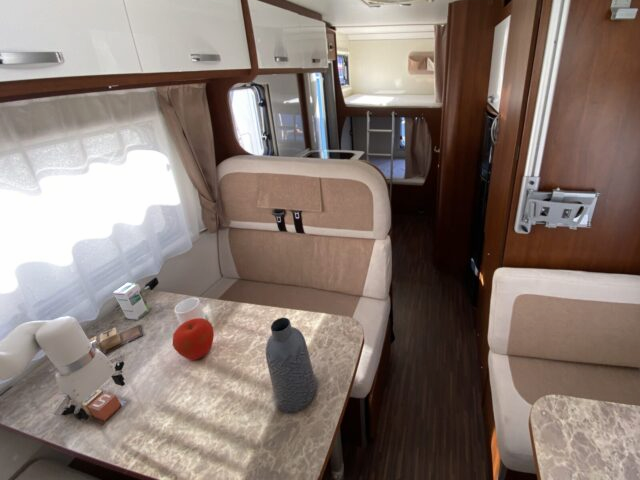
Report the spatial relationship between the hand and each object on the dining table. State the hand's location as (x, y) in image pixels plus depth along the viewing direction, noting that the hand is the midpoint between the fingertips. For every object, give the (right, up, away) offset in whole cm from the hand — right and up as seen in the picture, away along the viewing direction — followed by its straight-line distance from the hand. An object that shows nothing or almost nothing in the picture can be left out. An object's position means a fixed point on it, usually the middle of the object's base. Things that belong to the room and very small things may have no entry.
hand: (103, 400), depth 87 cm
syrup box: (-21, +9, +39) cm, 45 cm away
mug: (+5, +8, +33) cm, 35 cm away
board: (-19, +3, +25) cm, 32 cm away
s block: (0, -4, +2) cm, 5 cm away
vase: (+55, -2, +5) cm, 55 cm away
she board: (-5, -5, +4) cm, 8 cm away
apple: (+16, +3, +20) cm, 26 cm away
